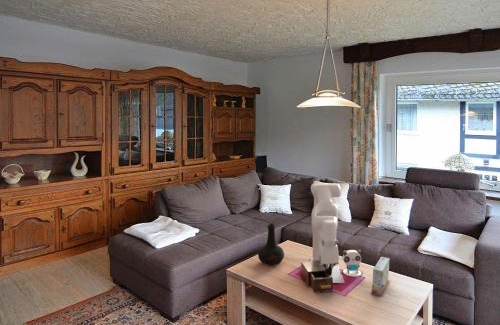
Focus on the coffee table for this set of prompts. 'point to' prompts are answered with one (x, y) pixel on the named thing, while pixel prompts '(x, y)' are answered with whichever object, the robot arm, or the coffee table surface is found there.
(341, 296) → the coffee table surface
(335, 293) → the coffee table surface
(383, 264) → the snack box
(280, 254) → the black vase
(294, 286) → the coffee table surface
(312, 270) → the cabinet
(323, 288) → the drawer
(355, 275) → the panda figurine
